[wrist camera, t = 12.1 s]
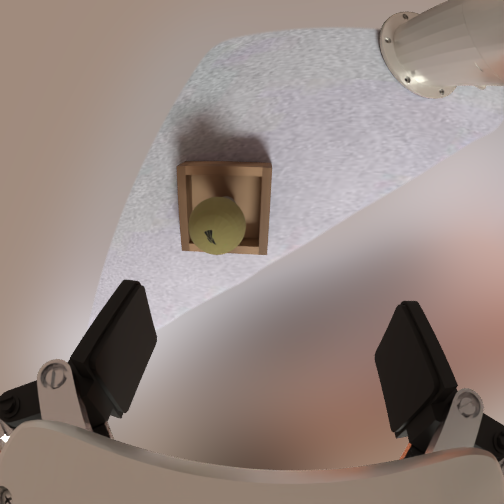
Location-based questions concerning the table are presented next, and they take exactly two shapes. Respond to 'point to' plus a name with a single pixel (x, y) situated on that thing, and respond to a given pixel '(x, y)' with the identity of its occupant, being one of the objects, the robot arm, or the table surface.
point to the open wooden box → (235, 186)
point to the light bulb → (217, 225)
